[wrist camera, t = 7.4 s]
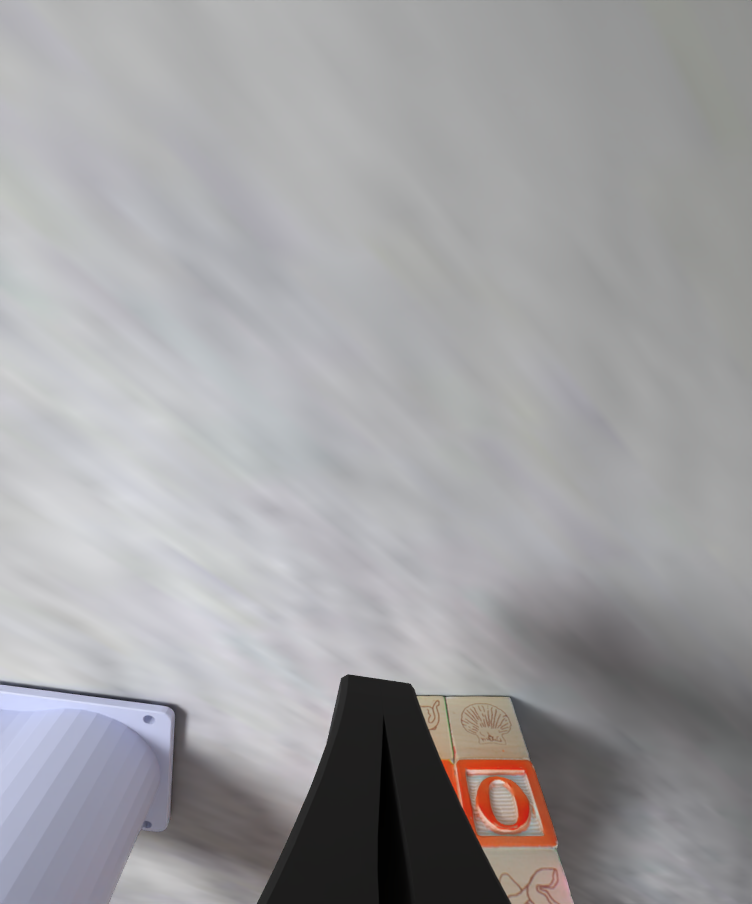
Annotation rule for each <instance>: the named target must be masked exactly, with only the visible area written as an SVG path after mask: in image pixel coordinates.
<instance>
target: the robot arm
mask: <svg viewBox="0 0 752 904" xmlns="http://www.w3.org/2000/svg"><path fill="white" fill-rule="evenodd" d="M174 727H175V713H174V712H173V710H172V709H171V708H169V707H166V706H161V705H153V704H145V703H138V702H130V701H122V700H115V699H107V698H99V697H92V696H84V695H76V694H69V693H61V692H53V691H46V690H38V689H31V688H23V687H15V686H8V685H0V904H109V902H110V899H111V897H112V895H113V892H114V890H115V888H116V885H117V883H118V881H119V878H120V876H121V874H122V871H123V869H124V867H125V864H126V862H127V860H128V857H129V855H130V853H131V850H132V848H133V846H134V843H135V841H136V839H137V836H138V834H139V832H140V830H146V831H155V832H161V831H163V830H165V829H166V828H167V826H168V823H169V820H170V807H171V787H172V767H173V747H174ZM257 904H511V902H510V900H509V898H508V896H507V895H506V893H505V891H504V889H503V887H502V885H501V883H500V882H499V880H498V878H497V876H496V874H495V872H494V870H493V868H492V866H491V864H490V862H489V860H488V858H487V856H486V855H485V853H484V851H483V849H482V847H481V845H480V843H479V841H478V839H477V837H476V835H475V833H474V831H473V829H472V827H471V824H470V822H469V820H468V818H467V816H466V814H465V812H464V810H463V808H462V805H461V803H460V801H459V799H458V797H457V794H456V792H455V790H454V788H453V786H452V783H451V781H450V779H449V777H448V775H447V772H446V770H445V768H444V765H443V763H442V761H441V758H440V756H439V754H438V751H437V749H436V746H435V744H434V741H433V739H432V736H431V734H430V731H429V729H428V726H427V724H426V721H425V718H424V716H423V713H422V710H421V707H420V705H419V702H418V699H417V696H416V693H415V690H414V688H413V687H412V685H411V684H409V683H402V682H396V681H389V680H382V679H376V678H369V677H362V676H356V675H349V674H348V675H346V676H344V677H343V678H341V682H340V686H339V691H338V695H337V700H336V704H335V708H334V713H333V717H332V722H331V726H330V731H329V735H328V740H327V744H326V747H325V750H324V752H323V755H322V758H321V761H320V763H319V766H318V769H317V772H316V774H315V777H314V780H313V782H312V785H311V787H310V790H309V792H308V795H307V797H306V799H305V801H304V804H303V806H302V808H301V811H300V813H299V815H298V818H297V820H296V822H295V824H294V827H293V829H292V831H291V834H290V836H289V838H288V841H287V843H286V845H285V847H284V849H283V851H282V853H281V856H280V858H279V860H278V862H277V864H276V866H275V868H274V870H273V872H272V874H271V876H270V879H269V881H268V883H267V885H266V887H265V889H264V891H263V893H262V895H261V897H260V899H259V901H258V903H257Z"/></svg>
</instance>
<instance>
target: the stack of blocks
mask: <svg viewBox="0 0 752 904" xmlns="http://www.w3.org/2000/svg"><path fill="white" fill-rule="evenodd" d="M417 699H418V702H419V705H420V707H421V710H422V713H423V716H424V718H425V721H426V724H427V726H428V729H429V731H430V734H431V736H432V739H433V741H434V744H435V746H436V749H437V751H438V754H439V756H440V758H441V761H442V763H443V765H444V768H445V770H446V772H447V775H448V777H449V779H450V781H451V783H452V786H453V788H454V790H455V792H456V794H457V797H458V799H459V801H460V803H461V805H462V808H463V810H464V812H465V814H466V816H467V818H468V820H469V822H470V824H471V827H472V829H473V831H474V833H475V835H476V837H477V839H478V841H479V843H480V845H481V847H482V849H483V851H484V853H485V855H486V856H487V858H488V860H489V862H490V864H491V866H492V868H493V870H494V872H495V874H496V876H497V878H498V880H499V882H500V883H501V885H502V887H503V889H504V891H505V893H506V895H507V896H508V898H509V900H510V902H511V904H574V902H573V898H572V895H571V892H570V888H569V885H568V882H567V878H566V876H565V873H564V870H563V867H562V863H561V860H560V858H559V855H558V853H557V848H558V841H557V837H556V833H555V830H554V827H553V824H552V821H551V818H550V815H549V812H548V809H547V805H546V802H545V799H544V796H543V793H542V790H541V787H540V784H539V781H538V778H537V775H536V772H535V769H534V766H533V764H532V763H531V760H530V756H529V752H528V749H527V746H526V743H525V740H524V738H523V734H522V731H521V728H520V725H519V722H518V719H517V716H516V713H515V709H514V706H513V703H512V700H511V698H510V697H485V696H469V697H442V696H417Z"/></svg>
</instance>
